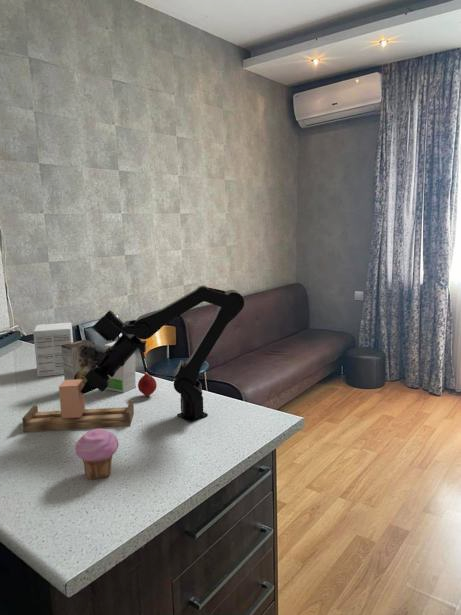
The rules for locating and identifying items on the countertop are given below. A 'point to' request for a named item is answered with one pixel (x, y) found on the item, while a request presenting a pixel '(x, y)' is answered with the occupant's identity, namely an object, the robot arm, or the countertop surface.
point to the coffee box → (75, 361)
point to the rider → (71, 398)
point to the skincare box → (123, 375)
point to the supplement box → (51, 347)
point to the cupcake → (97, 452)
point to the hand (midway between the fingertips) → (82, 392)
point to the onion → (147, 384)
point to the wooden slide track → (78, 419)
